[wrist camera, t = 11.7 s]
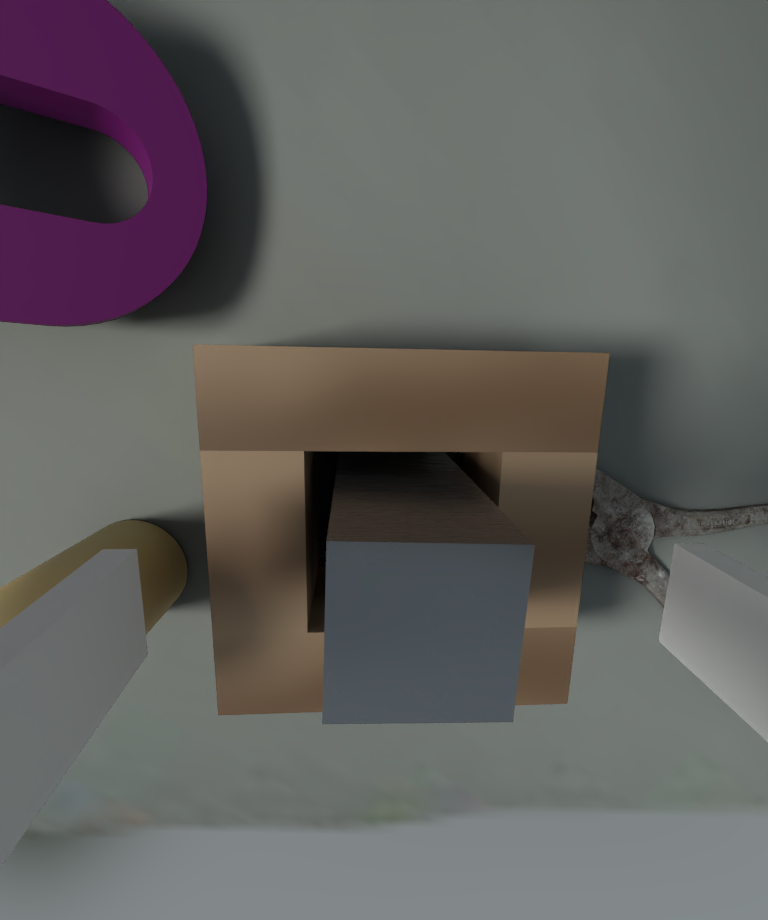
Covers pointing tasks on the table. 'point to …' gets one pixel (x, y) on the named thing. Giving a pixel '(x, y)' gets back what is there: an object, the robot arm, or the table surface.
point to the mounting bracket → (129, 123)
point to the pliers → (650, 530)
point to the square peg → (420, 594)
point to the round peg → (154, 549)
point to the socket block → (382, 430)
